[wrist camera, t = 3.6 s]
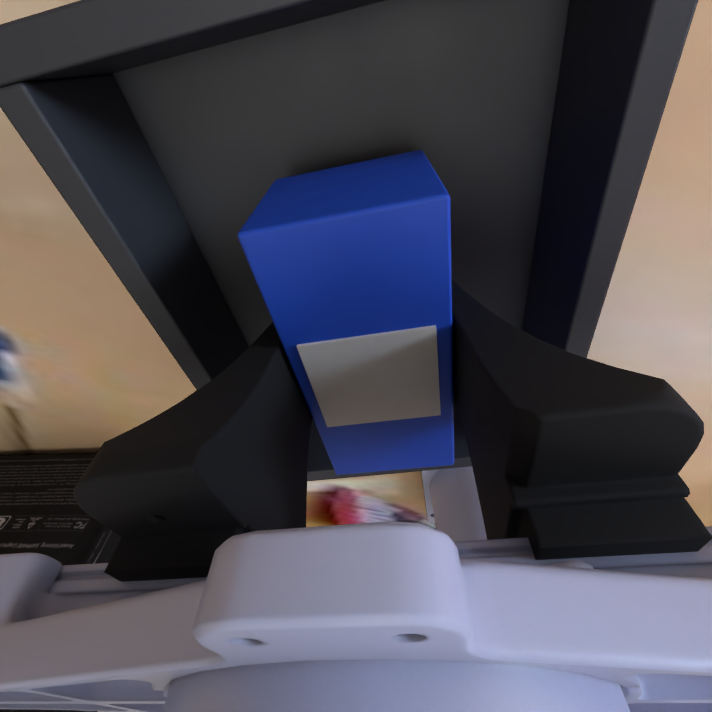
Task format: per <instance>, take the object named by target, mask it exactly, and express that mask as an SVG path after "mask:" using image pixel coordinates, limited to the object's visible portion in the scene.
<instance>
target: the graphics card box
mask: <svg viewBox="0 0 712 712" xmlns="http://www.w3.org/2000/svg"><path fill="white" fill-rule="evenodd" d="M95 456H96V454H84V455H83V454H74V455H67V454H66V455H20V456H7V455H6V456H0V555H2V554H16V553H39V554H43V555H46V556H49V557H51V558H53V559H55V560H57V561H58V562H60V563H61V564H62V566H65V565H81V564H98V563H109V561H110V559H111V557H112V555H113V553H114V551H115V549H116V547H117V545H118V543H119V541H120V539H121V537H120V536H118V535H117V534H116V533H114V532H113V531H111V530H110V529H108V528H107V527H105V526H104V525H102V524H101V523H100V522H98V521H97V520H95V519H94V518H92V517H91V516H89V515H88V514H87V513H86V512H85V511H83V510H82V509H81V508H80V507H79V505H78V504H77V502H76V501H75V498H74V488H75V486H76V485H77V483H78V482H79V480H80V479H81V477H82V476H83V474H84V473H85V471H86V469H87V468H88V466H89V465H90V463H91V462H92V460H93V459H94V457H95ZM0 712H97V711H81V710H39V709H0Z"/></svg>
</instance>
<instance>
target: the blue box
mask: <svg viewBox="0 0 712 712" xmlns="http://www.w3.org/2000/svg"><path fill="white" fill-rule="evenodd" d="M238 239H239V241H240V244H241V246H242V248H243V251H244V253H245V256H246V258H247V261H248V263H249V265H250V268H251V270H252V273H253V275H254V277H255V280H256V282H257V285H258V287H259V289H260V292H261V294H262V297H263V299H264V302H265V304H266V306H267V309H268V311H269V314H270V316H271V318H272V321H273V323H274V326H275V328H276V330H277V333H278V335H279V338H280V340H281V342H282V345H283V347H284V350H285V352H286V355H287V357H288V359H289V362H290V364H291V367H292V369H293V371H294V374H295V376H296V379H297V381H298V383H299V386H300V388H301V391H302V393H303V396H304V398H305V400H306V403H307V405H308V408H309V410H310V412H311V415H312V417H313V420H314V422H315V424H316V427H317V429H318V432H319V434H320V436H321V439H322V441H323V444H324V446H325V449H326V451H327V453H328V456H329V458H330V461H331V463H332V465H333V468H334V470H335V473H336V474H337V475H343V474H355V473H366V472H377V471H389V470H400V469H411V468H423V467H434V466H446V465H453V464H454V403H453V337H452V271H451V205H450V195H449V193H448V191H447V190H446V188H445V186H444V185H443V183H442V181H441V180H440V178H439V177H438V175H437V173H436V172H435V170H434V168H433V167H432V165H431V163H430V162H429V160H428V158H427V157H426V155H425V154H424V152H423V150H416V151H411V152H406V153H401V154H397V155H392V156H387V157H382V158H377V159H373V160H368V161H363V162H358V163H353V164H348V165H344V166H339V167H334V168H329V169H324V170H320V171H315V172H310V173H305V174H300V175H295V176H291V177H286V178H281V179H276V180H275V181H274V182H273V184H272V185H271V186H270V188H269V189H268V191H267V192H266V194H265V195H264V196H263V198H262V199H261V201H260V202H259V204H258V205H257V206H256V208H255V209H254V211H253V212H252V214H251V215H250V216H249V218H248V219H247V221H246V222H245V223H244V225H243V226H242V228H241V229H240V231H239V232H238Z"/></svg>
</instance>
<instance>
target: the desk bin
mask: <svg viewBox="0 0 712 712" xmlns="http://www.w3.org/2000/svg"><path fill="white" fill-rule="evenodd" d="M697 3H698V0H81V1H77V2H74V3H71V4H67V5H64V6H61V7H57V8H54V9H51V10H47V11H44V12H41V13H37V14H34V15H31V16H27V17H24V18H21V19H17V20H14V21H11V22H7V23H4V24H1V25H0V107H1V109H2V110H3V112H4V113H5V115H6V116H7V117H8V119H9V120H10V122H11V123H12V125H13V126H14V128H15V129H16V130H17V132H18V133H19V135H20V136H21V138H22V139H23V140H24V142H25V143H26V145H27V146H28V148H29V149H30V151H31V152H32V153H33V155H34V156H35V158H36V159H37V161H38V162H39V164H40V165H41V166H42V168H43V169H44V171H45V172H46V174H47V175H48V176H49V178H50V179H51V181H52V182H53V184H54V185H55V187H56V188H57V189H58V191H59V192H60V194H61V195H62V197H63V198H64V199H65V201H66V202H67V204H68V205H69V207H70V208H71V210H72V211H73V212H74V214H75V215H76V217H77V218H78V220H79V221H80V223H81V224H82V225H83V227H84V228H85V230H86V231H87V233H88V234H89V235H90V237H91V238H92V240H93V241H94V243H95V244H96V246H97V247H98V248H99V250H100V251H101V253H102V254H103V256H104V257H105V259H106V260H107V261H108V263H109V264H110V266H111V267H112V269H113V270H114V271H115V273H116V274H117V276H118V277H119V279H120V280H121V282H122V283H123V284H124V286H125V287H126V289H127V290H128V292H129V293H130V295H131V296H132V297H133V299H134V300H135V302H136V303H137V305H138V306H139V307H140V309H141V310H142V312H143V313H144V315H145V316H146V318H147V319H148V320H149V322H150V323H151V325H152V326H153V328H154V329H155V331H156V332H157V333H158V335H159V336H160V338H161V339H162V341H163V342H164V343H165V345H166V346H167V348H168V349H169V351H170V352H171V354H172V355H173V356H174V358H175V359H176V361H177V362H178V364H179V365H180V366H181V368H182V369H183V371H184V372H185V374H186V375H187V377H188V378H189V379H190V381H191V382H192V384H193V385H194V387H195V388H196V390H198V389H200V388H201V387H203V386H204V385H205V384H207V383H208V382H210V381H211V380H212V379H214V378H215V377H216V376H217V375H219V374H220V373H221V372H222V371H224V370H225V369H226V368H227V367H228V366H229V365H231V364H232V363H233V362H234V361H235V360H236V359H237V358H238V357H239V356H240V355H241V354H242V353H243V352H244V351H245V350H246V349H247V348H248V347H249V346H250V345H251V344H252V343H253V342H254V341H255V340H256V339H257V338H258V337H259V336H260V335H261V334H262V333H263V332H264V331H265V330H266V329H267V327H268V326H269V325H270V324H271V323H272V322H273V321H272V318H271V316H270V314H269V311H268V309H267V306H266V304H265V302H264V299H263V297H262V294H261V292H260V289H259V287H258V285H257V282H256V280H255V277H254V275H253V273H252V270H251V268H250V265H249V263H248V261H247V258H246V256H245V253H244V251H243V248H242V246H241V244H240V241H239V239H238V232H239V231H240V229H241V228H242V226H243V225H244V223H245V222H246V221H247V219H248V218H249V216H250V215H251V214H252V212H253V211H254V209H255V208H256V206H257V205H258V204H259V202H260V201H261V199H262V198H263V196H264V195H265V194H266V192H267V191H268V189H269V188H270V186H271V185H272V184H273V182H274V181H275V180H276V179H281V178H286V177H291V176H295V175H300V174H305V173H310V172H315V171H320V170H324V169H329V168H334V167H339V166H344V165H348V164H353V163H358V162H363V161H368V160H373V159H377V158H382V157H387V156H392V155H397V154H401V153H406V152H411V151H416V150H423V152H424V154H425V155H426V157H427V158H428V160H429V162H430V163H431V165H432V167H433V168H434V170H435V172H436V173H437V175H438V177H439V178H440V180H441V181H442V183H443V185H444V186H445V188H446V190H447V191H448V193H449V195H450V205H451V271H452V280H453V281H455V282H456V283H457V284H458V285H459V286H460V287H462V288H463V289H464V290H465V291H466V292H467V293H469V294H470V295H471V296H472V297H473V298H475V299H476V300H477V301H478V302H479V303H481V304H482V305H483V306H485V307H486V308H487V309H489V310H490V311H491V312H493V313H494V314H496V315H497V316H499V317H500V318H502V319H503V320H505V321H506V322H508V323H510V324H511V325H513V326H515V327H516V328H518V329H520V330H522V331H524V332H526V333H528V334H530V335H532V336H533V337H535V338H537V339H540V340H542V341H544V342H546V343H548V344H551V345H553V346H556V347H558V348H560V349H563V350H565V351H568V352H570V353H573V354H576V355H579V356H581V357H584V358H587V354H588V351H589V348H590V345H591V342H592V338H593V335H594V332H595V329H596V326H597V322H598V319H599V316H600V313H601V310H602V306H603V303H604V300H605V297H606V294H607V290H608V287H609V284H610V281H611V278H612V274H613V271H614V268H615V265H616V262H617V258H618V255H619V252H620V249H621V246H622V242H623V239H624V236H625V233H626V230H627V226H628V223H629V220H630V217H631V214H632V210H633V207H634V204H635V201H636V198H637V194H638V191H639V188H640V185H641V182H642V178H643V175H644V172H645V169H646V166H647V162H648V159H649V156H650V153H651V150H652V146H653V143H654V140H655V137H656V134H657V131H658V127H659V124H660V121H661V118H662V115H663V111H664V108H665V105H666V102H667V99H668V95H669V92H670V89H671V86H672V83H673V79H674V76H675V73H676V70H677V67H678V63H679V60H680V57H681V54H682V51H683V47H684V44H685V41H686V38H687V35H688V31H689V28H690V25H691V22H692V19H693V15H694V12H695V9H696V6H697ZM453 403H454V464H453V465H446V466H434V467H423V468H411V469H400V470H389V471H377V472H366V473H355V474H343V475H337V474H336V473H335V470H334V468H333V465H332V463H331V461H330V458H329V456H328V453H327V451H326V449H325V446H324V444H323V441H322V439H321V436H320V434H319V432H318V429H317V427H316V424H315V422H314V420H313V418H312V424H311V430H310V438H309V452H308V470H307V481H314V480H326V479H337V478H348V477H359V476H371V475H382V474H393V473H404V472H416V471H427V470H438V469H449V468H461V467H472V464H471V459H470V455H469V450H468V446H467V441H466V437H465V433H464V428H463V424H462V421H461V417H460V414H459V411H458V408H457V405H456V402H455V399H454V396H453Z"/></svg>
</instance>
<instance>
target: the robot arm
mask: <svg viewBox="0 0 712 712" xmlns="http://www.w3.org/2000/svg"><path fill="white" fill-rule="evenodd" d="M452 337H453V396H454V399H455V402H456V405H457V408H458V411H459V414H460V417H461V421H462V424H463V428H464V433H465V437H466V441H467V446H468V450H469V455H470V459H471V464H472V467H461V468H449V469H438V470H427V471H422V479H423V487H424V495H425V503H426V511H427V519H428V522H429V523H431V524H435V525H436V529H435V528H432V527H429V526H427V525H424V524H421V523H408V522H377V523H362V524H348V525H334V526H319V527H306V496H307V470H308V452H309V438H310V430H311V424H312V418H313V417H312V415H311V412H310V410H309V408H308V405H307V403H306V400H305V398H304V396H303V393H302V391H301V388H300V386H299V383H298V381H297V379H296V376H295V374H294V371H293V369H292V367H291V364H290V362H289V359H288V357H287V355H286V352H285V350H284V347H283V345H282V342H281V340H280V338H279V335H278V333H277V330H276V328H275V326H274V323H273V322H272V323H271V324H270V325H269V326H268V327H267V329H266V330H265V331H264V332H263V333H262V334H261V335H260V336H259V337H258V338H257V339H256V340H255V341H254V342H253V343H252V344H251V345H250V346H249V347H248V348H247V349H246V350H245V351H244V352H243V353H242V354H241V355H240V356H239V357H238V358H237V359H236V360H235V361H234V362H233V363H232V364H231V365H229V366H228V367H227V368H226V369H225V370H224V371H222V372H221V373H220V374H219V375H217V376H216V377H215V378H214V379H212V380H211V381H210V382H208V383H207V384H205V385H204V386H203V387H201V388H200V389H198V390H197V391H195V392H194V393H193V394H191V395H190V396H188V397H187V398H185V399H184V400H182V401H181V402H179V403H178V404H176V405H174V406H173V407H171V408H169V409H168V410H166V411H164V412H163V413H161V414H159V415H157V416H156V417H154V418H152V419H150V420H148V421H147V422H145V423H143V424H141V425H139V426H137V427H135V428H133V429H131V430H129V431H127V432H125V433H123V434H121V435H119V436H117V437H115V438H113V439H111V440H109V441H106V442H104V444H103V445H102V446H101V448H100V450H99V451H98V453H97V454H96V456H95V457H94V459H93V460H92V462H91V463H90V465H89V466H88V468H87V469H86V471H85V473H84V474H83V476H82V477H81V479H80V480H79V482H78V483H77V485H76V486H75V488H74V498H75V501H76V502H77V504H78V505H79V507H80V508H81V509H82V510H83V511H85V512H86V513H87V514H88V515H89V516H91V517H92V518H94V519H95V520H97V521H98V522H100V523H101V524H102V525H104V526H105V527H107V528H108V529H110V530H111V531H113V532H114V533H116V534H117V535H118V536H120V537H121V539H120V541H119V543H118V545H117V547H116V549H115V551H114V553H113V555H112V557H111V559H110V561H109V563H98V564H81V565H65V566H62V564H61V563H60V562H58V561H57V560H55V559H53V558H51V557H49V556H46V555H43V554H39V553H16V554H2V555H0V709H39V710H81V711H113V712H712V526H708V527H705V526H704V524H703V523H702V521H701V520H700V519H699V517H698V516H697V515H696V513H695V512H694V510H693V509H692V508H691V506H690V505H689V504H688V502H687V501H686V499H685V498H684V497H688V495H689V494H690V491H689V488H688V487H687V485H686V484H685V483H684V481H683V480H682V479H681V477H680V476H679V475H678V473H679V472H680V470H681V469H682V468H683V466H684V465H685V463H686V462H687V461H688V459H689V458H690V457H691V455H692V454H693V453H694V451H695V450H696V449H697V447H698V445H699V443H700V441H701V439H702V437H703V434H704V423H703V421H702V420H701V419H700V417H699V416H698V415H697V413H696V412H695V411H694V410H693V409H692V408H691V407H690V406H689V405H688V404H687V402H686V401H685V400H684V399H683V398H682V397H681V396H680V395H679V394H678V393H677V392H676V391H675V390H674V389H673V388H672V387H671V386H670V385H669V384H668V383H667V382H666V381H665V380H664V379H660V378H656V377H652V376H648V375H644V374H640V373H636V372H632V371H628V370H624V369H620V368H616V367H613V366H609V365H606V364H603V363H600V362H597V361H593V360H590V359H587V358H584V357H581V356H579V355H576V354H573V353H570V352H568V351H565V350H563V349H560V348H558V347H556V346H553V345H551V344H548V343H546V342H544V341H542V340H540V339H537V338H535V337H533V336H532V335H530V334H528V333H526V332H524V331H522V330H520V329H518V328H516V327H515V326H513V325H511V324H510V323H508V322H506V321H505V320H503V319H502V318H500V317H499V316H497V315H496V314H494V313H493V312H491V311H490V310H489V309H487V308H486V307H485V306H483V305H482V304H481V303H479V302H478V301H477V300H476V299H475V298H473V297H472V296H471V295H470V294H469V293H467V292H466V291H465V290H464V289H463V288H462V287H460V286H459V285H458V284H457V283H456V282H455V281H453V280H452Z"/></svg>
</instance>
